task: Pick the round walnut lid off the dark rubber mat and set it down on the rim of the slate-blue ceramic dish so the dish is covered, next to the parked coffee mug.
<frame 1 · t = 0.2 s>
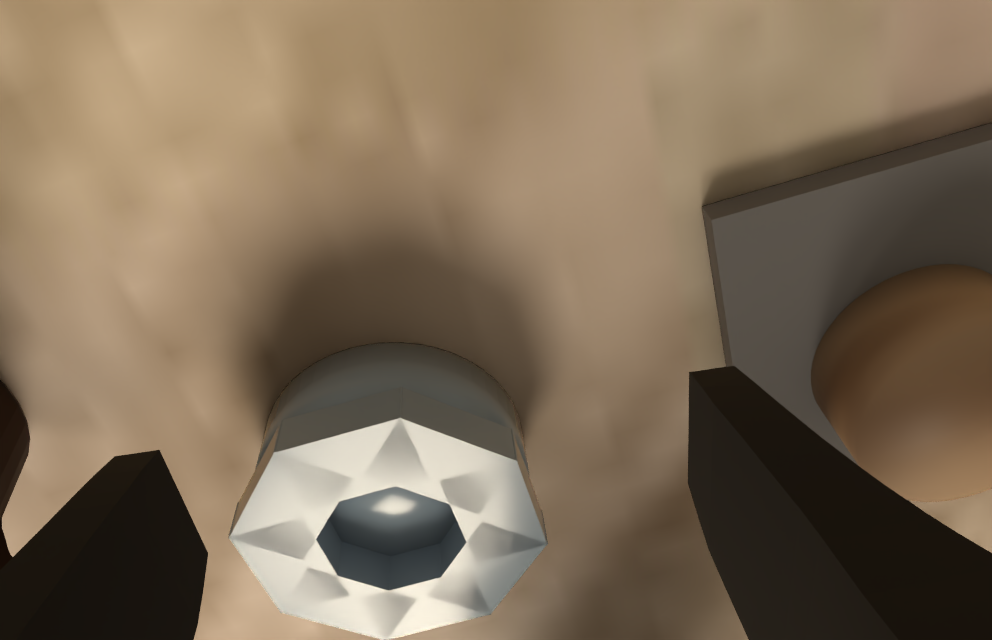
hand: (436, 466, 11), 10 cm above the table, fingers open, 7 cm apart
lid: (912, 354, 22), point 1 cm above the table, touching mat
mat: (898, 339, 23), on the table
dish: (396, 448, 24), on the table
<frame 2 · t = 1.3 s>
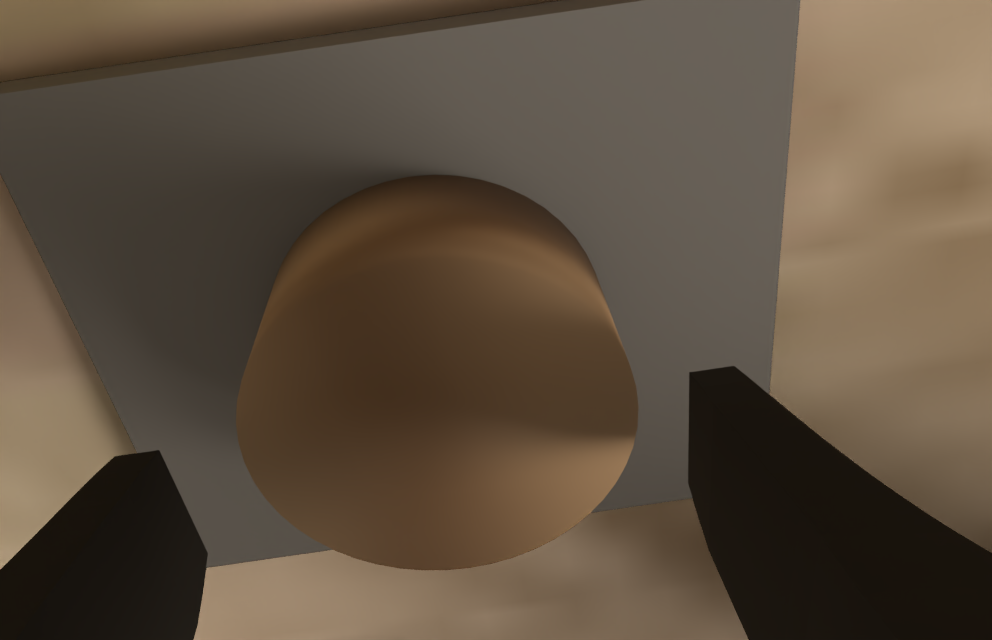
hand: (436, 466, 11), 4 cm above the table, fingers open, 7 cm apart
lid: (439, 330, 14), point 1 cm above the table, touching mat
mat: (438, 307, 15), on the table
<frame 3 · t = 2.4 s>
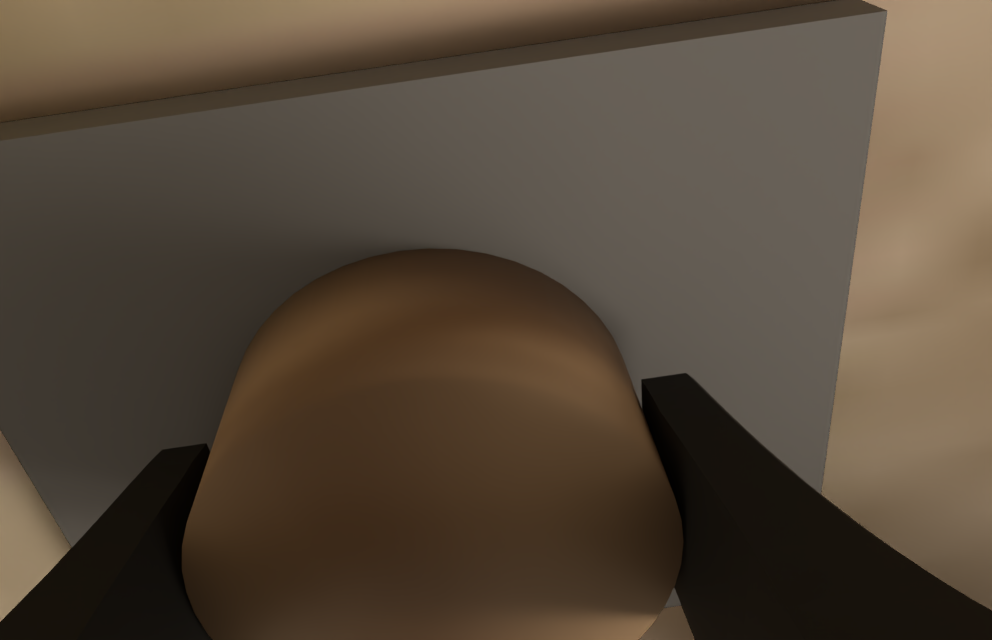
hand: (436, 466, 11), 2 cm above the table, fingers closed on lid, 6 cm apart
lid: (435, 424, 12), point 1 cm above the table, touching gripper, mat
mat: (435, 391, 12), on the table
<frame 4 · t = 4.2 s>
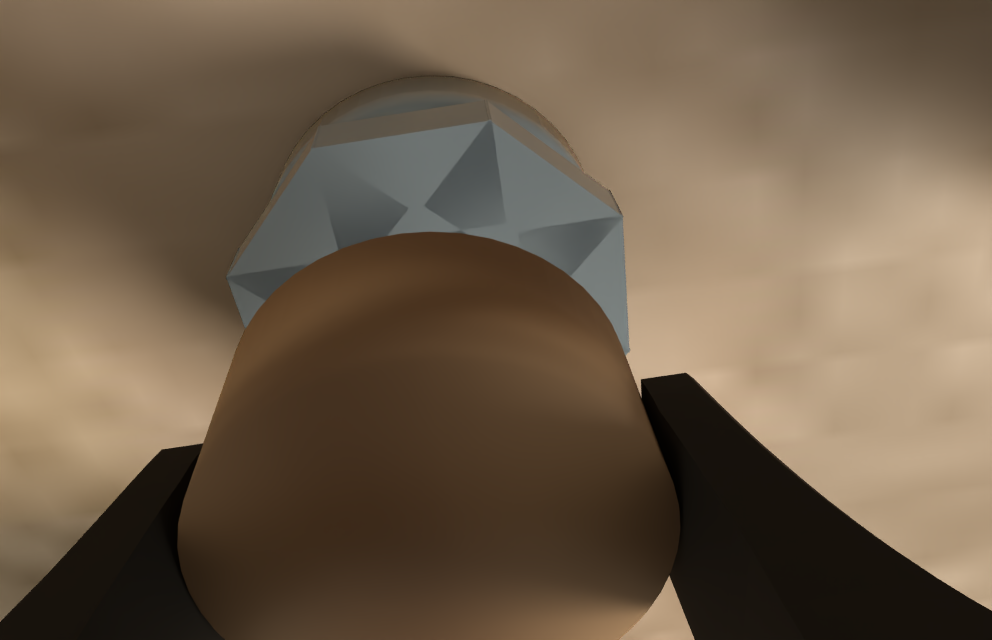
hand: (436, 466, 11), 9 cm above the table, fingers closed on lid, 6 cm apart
lid: (433, 409, 12), point 8 cm above the table, touching gripper
dish: (436, 236, 19), on the table
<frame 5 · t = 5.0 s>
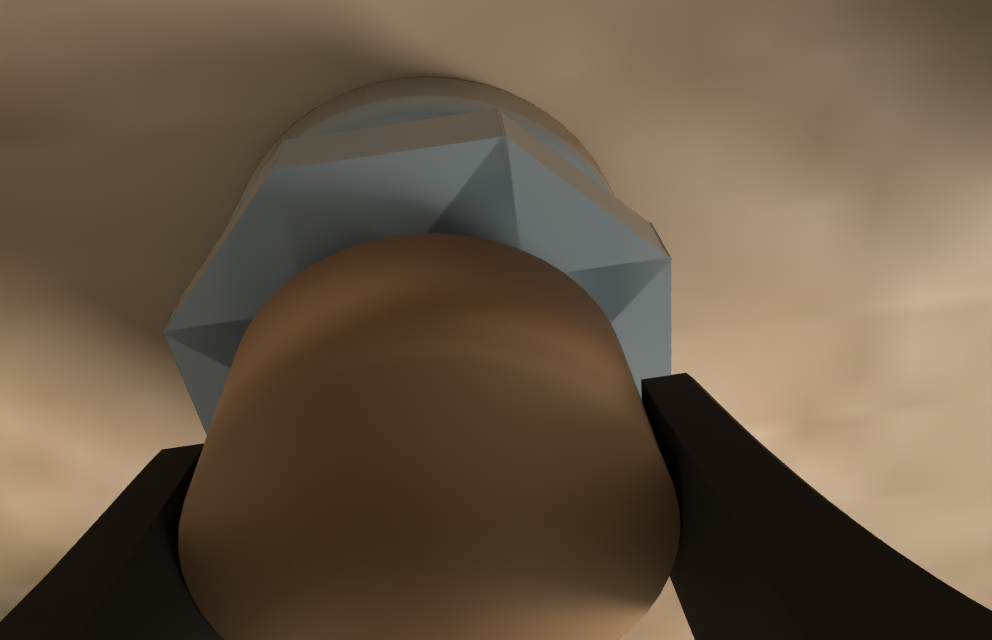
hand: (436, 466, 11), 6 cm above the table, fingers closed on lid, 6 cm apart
lid: (433, 410, 12), point 5 cm above the table, touching gripper
dish: (432, 271, 16), on the table
when the fingers open (6 cm above the table, at t = 5.9 s): lid stays where it is, resting on dish.
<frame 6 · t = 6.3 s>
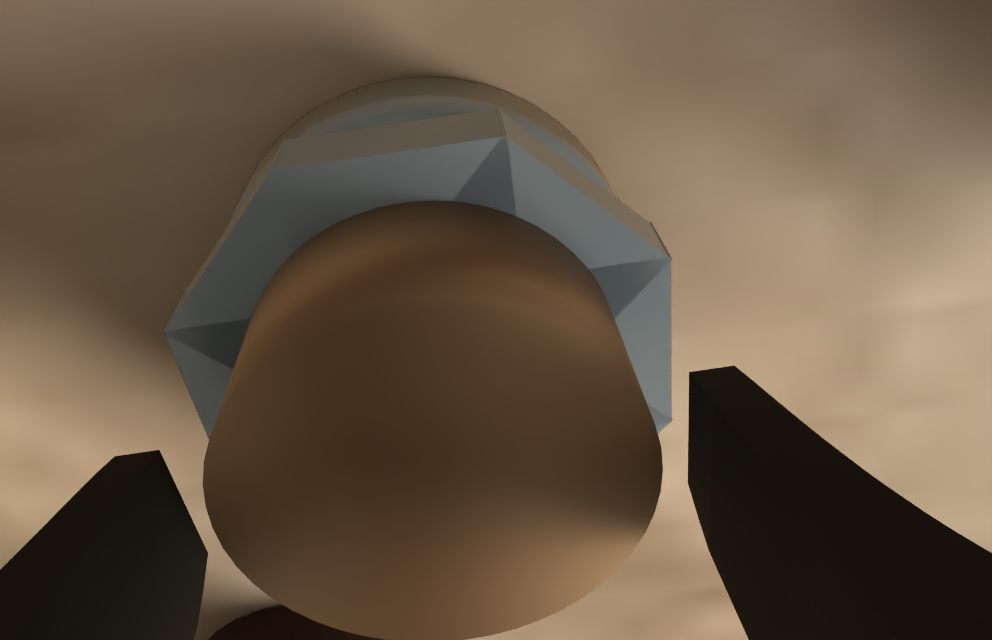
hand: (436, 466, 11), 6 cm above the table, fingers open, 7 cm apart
lid: (435, 370, 12), point 4 cm above the table, touching dish
dish: (432, 271, 16), on the table
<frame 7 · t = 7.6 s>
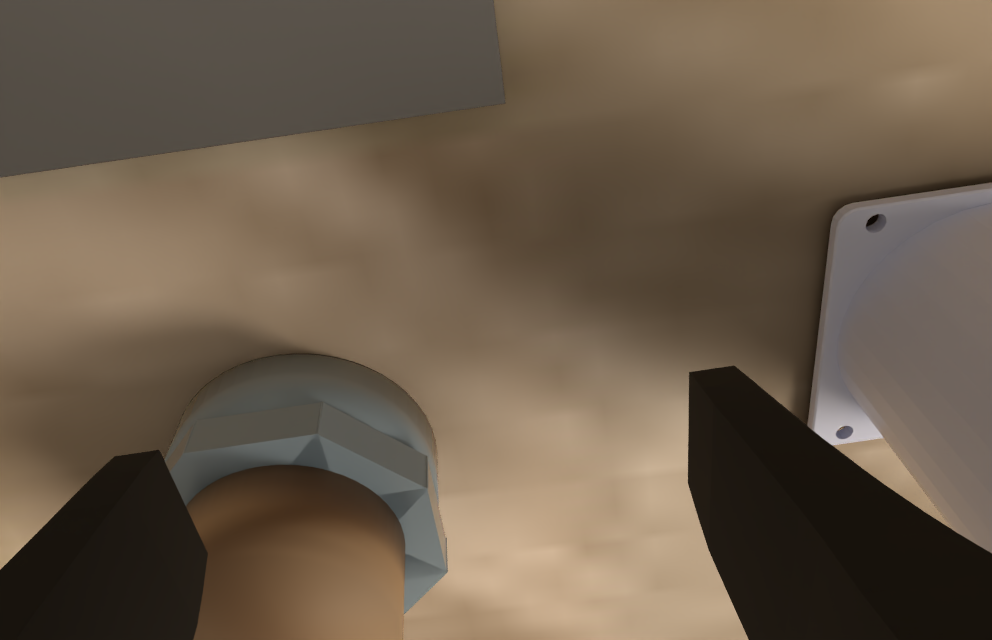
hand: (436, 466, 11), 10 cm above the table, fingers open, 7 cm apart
lid: (292, 548, 20), point 4 cm above the table, touching dish
dish: (309, 459, 24), on the table
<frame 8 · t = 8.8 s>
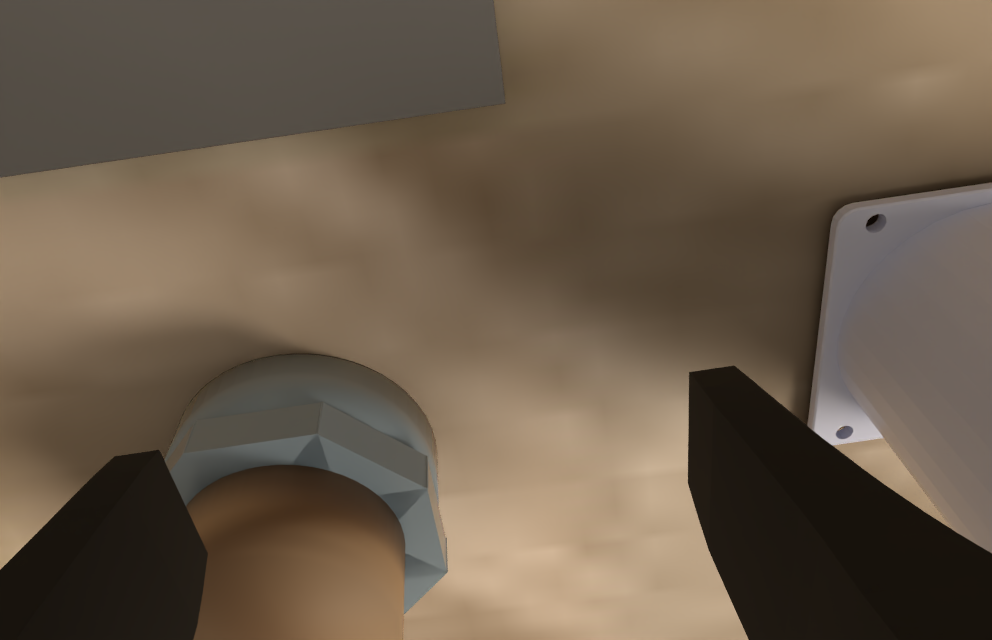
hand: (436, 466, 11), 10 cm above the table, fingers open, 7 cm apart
lid: (292, 548, 20), point 4 cm above the table, touching dish
dish: (309, 459, 24), on the table
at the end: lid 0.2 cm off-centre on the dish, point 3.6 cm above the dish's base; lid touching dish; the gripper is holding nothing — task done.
